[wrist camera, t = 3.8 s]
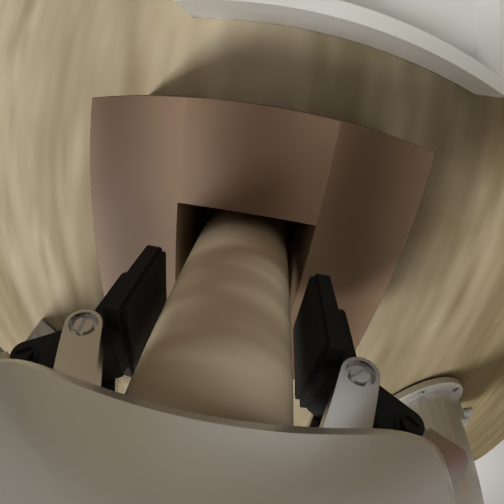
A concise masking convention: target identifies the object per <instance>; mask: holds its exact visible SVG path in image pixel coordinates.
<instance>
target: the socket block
mask: <svg viewBox="0 0 504 504" xmlns="http://www.w3.org/2000/svg"><path fill="white" fill-rule="evenodd" d="M434 157H435V152H432V151H430V150H428V149H425V148H423V147H420V146H418V145H415V144H413V143H410V142H407V141H405V140H402V139H399V138H397V137H394V136H391V135H388V134H385V133H382V132H379V131H376V130H373V129H369V128H366V127H362V126H359V125H355V124H352V123H348V122H344V121H340V120H336V119H332V118H328V117H324V116H320V115H315V114H311V113H306V112H301V111H296V110H291V109H286V108H281V107H275V106H269V105H263V104H256V103H249V102H242V101H233V100H225V99H215V98H203V97H190V96H170V95H127V96H108V97H94V98H92V110H91V133H90V173H91V196H92V211H93V223H94V233H95V242H96V250H97V257H98V264H99V271H100V277H101V283H102V289H103V294H104V297H105V296H106V294H107V293H108V291H109V290H110V289H111V287H112V286H113V285H114V283H115V282H116V280H117V279H118V278H119V276H120V275H121V274H122V273H124V272H126V273H127V271H128V270H129V268H130V267H131V266H132V264H133V263H134V262H135V260H136V259H137V258H138V257H139V255H140V254H141V253H142V251H143V250H144V249H145V247H146V246H147V245H151V246H157V247H161V248H162V251H165V252H166V290H167V299H168V297H169V295H170V293H171V291H172V289H173V287H174V285H175V282H176V280H177V278H178V276H179V274H180V272H181V270H182V268H183V266H184V264H185V262H186V260H187V258H188V257H189V255H190V253H191V251H192V249H193V247H194V245H195V243H196V241H197V239H198V237H199V235H200V233H201V231H202V229H203V221H204V209H205V207H211V208H217V209H223V210H230V211H236V212H242V213H248V214H254V215H260V216H266V217H272V218H277V219H283V220H289V221H294V226H293V231H292V235H291V239H290V243H289V248H288V252H287V260H288V277H289V296H290V317H291V342H292V374H293V379H295V374H294V346H293V328H294V324H295V321H296V318H297V315H298V312H299V309H300V306H301V303H302V300H303V297H304V293H305V290H306V287H307V284H308V281H309V278H310V276H313V277H314V276H315V274H316V273H317V274H323V275H329V276H330V278H331V281H332V285H333V289H334V293H335V297H336V301H337V305H338V309H342V310H344V311H345V313H346V316H347V320H348V324H349V328H350V332H351V336H352V340H353V344H354V348H355V350H356V348H357V346H358V344H359V342H360V341H361V339H362V337H363V335H364V333H365V331H366V329H367V327H368V326H369V324H370V322H371V320H372V318H373V316H374V314H375V312H376V310H377V308H378V306H379V304H380V302H381V299H382V297H383V295H384V293H385V291H386V289H387V287H388V284H389V282H390V280H391V278H392V275H393V273H394V271H395V269H396V266H397V264H398V262H399V259H400V257H401V254H402V252H403V249H404V247H405V244H406V242H407V239H408V237H409V234H410V231H411V229H412V226H413V223H414V220H415V218H416V215H417V212H418V209H419V206H420V203H421V200H422V197H423V194H424V191H425V188H426V184H427V181H428V178H429V175H430V171H431V168H432V164H433V160H434Z"/></svg>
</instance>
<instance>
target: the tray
mask: <svg viewBox="0 0 504 504" xmlns="http://www.w3.org/2000/svg"><path fill="white" fill-rule="evenodd" d="M173 1H174V2H175V3H176V4H178V5H179V6H180V7H181V8H182V9H183V10H184V11H186V12H187V13H188V14H189V15H190V16H191V17H192V18H217V19H235V20H247V21H256V22H264V23H272V24H279V25H285V26H291V27H296V28H302V29H307V30H311V31H316V32H320V33H324V34H329V35H333V36H336V37H340V38H344V39H347V40H351V41H354V42H357V43H361V44H364V45H367V46H370V47H373V48H376V49H379V50H382V51H384V52H387V53H390V54H392V55H395V56H398V57H400V58H403V59H405V60H407V61H410V62H412V63H415V64H417V65H419V66H421V67H424V68H426V69H428V70H430V71H432V72H434V73H436V74H438V75H440V76H442V77H444V78H446V79H448V80H450V81H452V82H454V83H456V84H458V85H459V86H461V87H463V88H465V89H467V90H468V91H470V92H472V93H473V94H475V95H483V96H492V97H499V98H504V0H173Z"/></svg>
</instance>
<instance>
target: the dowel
mask: <svg viewBox="0 0 504 504" xmlns="http://www.w3.org/2000/svg"><path fill="white" fill-rule="evenodd" d="M125 395H128V396H131V397H134V398H138V399H141V400H145V401H149V402H152V403H156V404H160V405H164V406H168V407H172V408H176V409H181V410H185V411H190V412H195V413H200V414H205V415H210V416H216V417H222V418H228V419H234V420H241V421H249V422H256V423H265V424H275V425H286V426H293V374H292V342H291V317H290V296H289V277H288V260H287V244H286V230H285V220H283V219H277V218H272V217H266V216H260V215H254V214H248V213H242V212H236V211H230V210H223V209H217V208H214V209H213V211H212V213H211V214H210V216H209V218H208V220H207V222H206V224H205V226H204V228H203V229H202V231H201V233H200V235H199V237H198V239H197V241H196V243H195V245H194V247H193V249H192V251H191V253H190V255H189V257H188V258H187V260H186V262H185V264H184V266H183V268H182V270H181V272H180V274H179V276H178V278H177V280H176V282H175V285H174V287H173V289H172V291H171V293H170V295H169V297H168V299H167V301H166V303H165V305H164V307H163V309H162V312H161V314H160V316H159V318H158V320H157V322H156V324H155V326H154V329H153V331H152V333H151V335H150V337H149V340H148V342H147V344H146V346H145V348H144V351H143V353H142V355H141V357H140V360H139V362H138V364H137V367H136V369H135V371H134V374H133V376H132V378H131V381H130V383H129V385H128V388H127V390H126V393H125Z"/></svg>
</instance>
